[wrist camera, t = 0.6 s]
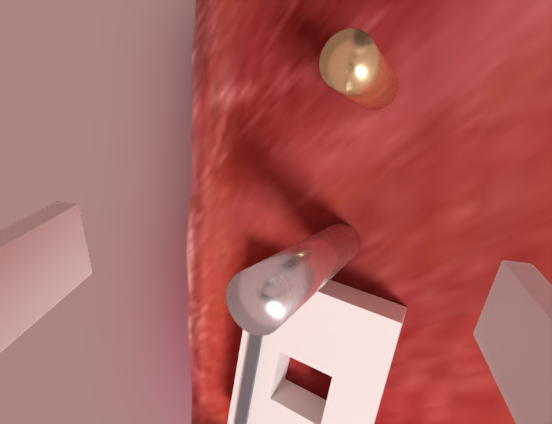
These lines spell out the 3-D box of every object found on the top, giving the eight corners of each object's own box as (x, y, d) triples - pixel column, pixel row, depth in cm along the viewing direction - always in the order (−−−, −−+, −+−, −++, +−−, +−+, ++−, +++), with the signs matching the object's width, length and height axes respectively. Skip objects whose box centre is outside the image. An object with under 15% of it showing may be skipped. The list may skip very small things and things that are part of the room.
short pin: (388, 57, 28) (363, 16, 20) (404, 97, 28) (385, 71, 20) (348, 79, 30) (311, 49, 22) (363, 117, 30) (330, 100, 22)
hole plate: (270, 258, 36) (251, 268, 33) (407, 307, 30) (401, 325, 27) (242, 414, 40) (223, 437, 37) (357, 483, 35) (346, 518, 31)
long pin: (351, 218, 31) (269, 262, 17) (366, 254, 31) (294, 329, 17) (317, 229, 33) (217, 279, 19) (331, 264, 33) (239, 340, 19)
